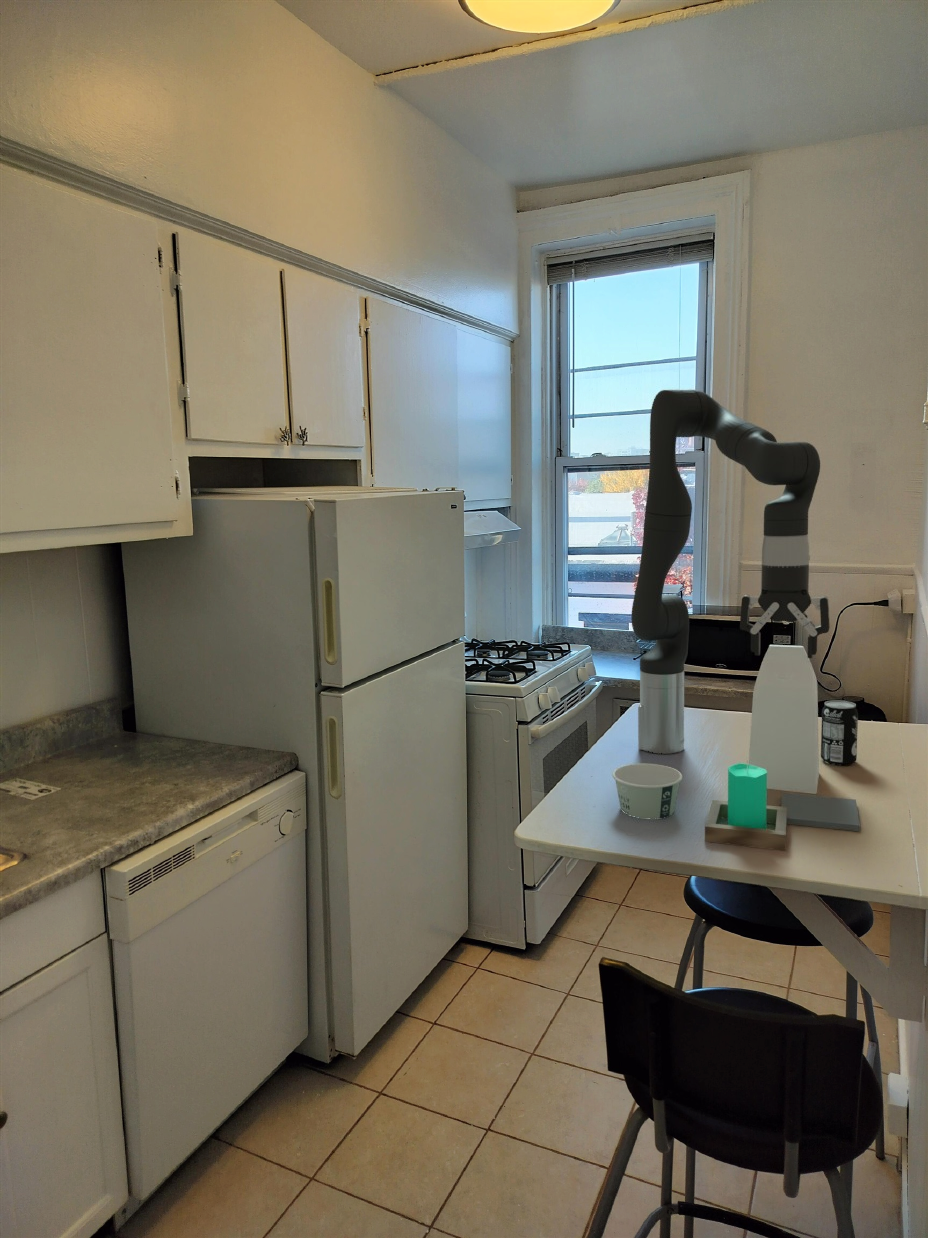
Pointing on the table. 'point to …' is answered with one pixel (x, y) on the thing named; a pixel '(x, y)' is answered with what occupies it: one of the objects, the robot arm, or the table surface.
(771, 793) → the table surface
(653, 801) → the food container
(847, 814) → the plate
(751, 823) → the candle
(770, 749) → the milk
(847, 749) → the beverage can
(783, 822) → the open wooden box
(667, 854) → the table surface
